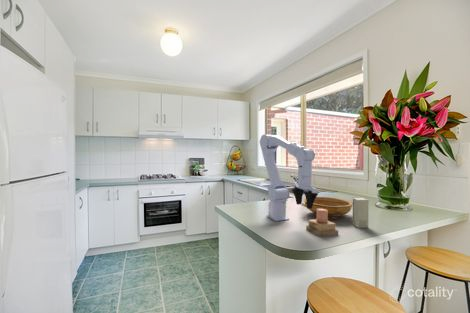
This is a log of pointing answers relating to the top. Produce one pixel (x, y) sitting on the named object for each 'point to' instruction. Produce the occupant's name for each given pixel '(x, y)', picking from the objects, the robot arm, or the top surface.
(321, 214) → the peach capsule
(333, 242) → the top surface
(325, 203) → the wooden bowl
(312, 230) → the bottom block
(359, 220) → the box
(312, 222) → the top block
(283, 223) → the top surface
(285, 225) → the top surface
